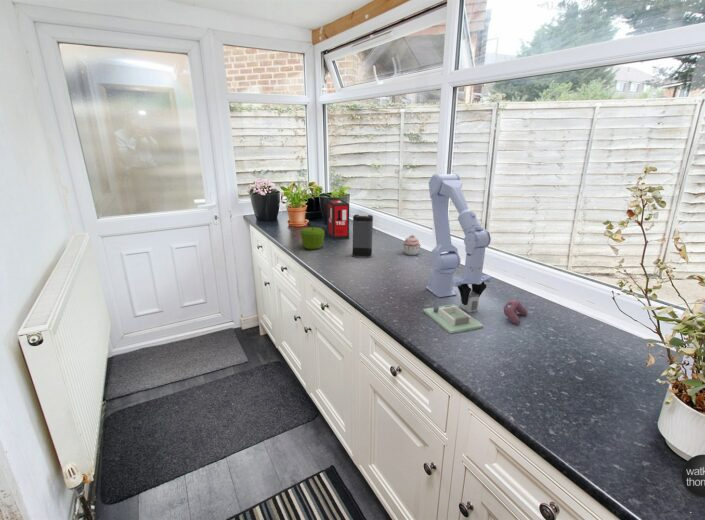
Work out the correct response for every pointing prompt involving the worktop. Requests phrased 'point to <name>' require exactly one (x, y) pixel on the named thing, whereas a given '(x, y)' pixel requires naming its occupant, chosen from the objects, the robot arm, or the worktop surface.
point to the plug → (471, 302)
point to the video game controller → (514, 310)
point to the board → (452, 318)
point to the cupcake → (411, 245)
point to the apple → (312, 237)
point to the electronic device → (362, 236)
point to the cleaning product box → (338, 219)
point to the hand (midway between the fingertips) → (469, 303)
